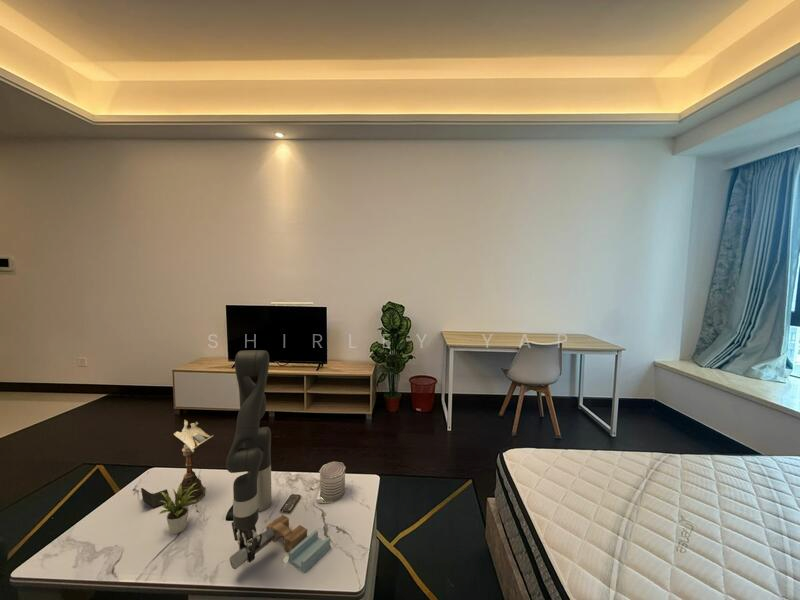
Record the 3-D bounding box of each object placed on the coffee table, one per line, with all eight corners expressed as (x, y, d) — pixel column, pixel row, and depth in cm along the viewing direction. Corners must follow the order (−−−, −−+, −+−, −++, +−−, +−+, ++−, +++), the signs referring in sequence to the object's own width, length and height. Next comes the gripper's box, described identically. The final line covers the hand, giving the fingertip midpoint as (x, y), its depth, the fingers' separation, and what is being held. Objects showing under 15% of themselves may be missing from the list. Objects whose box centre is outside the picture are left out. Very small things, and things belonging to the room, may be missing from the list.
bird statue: (223, 490, 149) (221, 415, 147) (200, 510, 136) (197, 428, 134) (193, 485, 153) (191, 411, 151) (168, 503, 140) (165, 423, 138)
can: (349, 496, 145) (349, 470, 144) (325, 506, 139) (325, 479, 138) (339, 483, 155) (339, 458, 154) (315, 491, 148) (315, 466, 147)
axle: (236, 571, 103) (236, 559, 103) (229, 565, 105) (229, 554, 105) (275, 541, 115) (274, 530, 114) (268, 536, 117) (267, 526, 117)
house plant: (207, 529, 126) (205, 488, 125) (163, 550, 115) (161, 506, 114) (195, 511, 135) (194, 473, 134) (154, 529, 125) (152, 488, 124)
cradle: (288, 561, 111) (288, 551, 111) (315, 538, 121) (315, 529, 121) (304, 572, 107) (304, 562, 107) (330, 547, 117) (330, 538, 117)
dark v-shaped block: (176, 496, 142) (157, 484, 138) (161, 513, 138) (141, 502, 133) (167, 489, 149) (149, 478, 145) (153, 506, 145) (134, 495, 140)
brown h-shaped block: (266, 537, 122) (266, 523, 121) (282, 525, 128) (282, 511, 127) (291, 554, 114) (291, 539, 114) (307, 541, 120) (306, 526, 120)
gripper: (269, 509, 106) (270, 559, 107) (244, 493, 114) (245, 539, 115) (248, 524, 100) (249, 576, 101) (222, 506, 107) (224, 555, 109)
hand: (247, 556), depth 108 cm, fingers closed on axle, 4 cm apart
